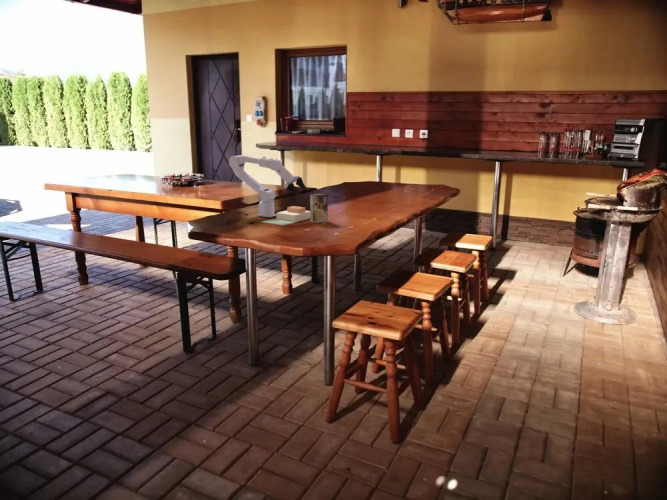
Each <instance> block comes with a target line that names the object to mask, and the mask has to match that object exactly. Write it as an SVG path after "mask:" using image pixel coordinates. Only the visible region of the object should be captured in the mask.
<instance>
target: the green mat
mask: <svg viewBox="0 0 667 500" xmlns="http://www.w3.org/2000/svg"><path fill="white" fill-rule="evenodd" d="M261 223H263V224H264V223H265V224H269V225H275V226H280V227H281V226H282V227H283V226H287V225H292V224H296V223H297V222H295V221H288V220H282V219H277V218H272V219H267V220H264V221H263V220H262V221H261Z"/></svg>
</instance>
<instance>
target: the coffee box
mask: <svg viewBox="0 0 667 500" xmlns="http://www.w3.org/2000/svg"><path fill="white" fill-rule="evenodd" d="M309 197H310V198H309V207H310V210H309V211H310V219H309V220H310V222H311V223H313V224H315V223H316V224H317V223H328V222H329V219H328V215H329V213H328V210H329V209H328V208H329V207H328V203H329V202H328V201H329V200H328V194H326V193H310V195H309Z"/></svg>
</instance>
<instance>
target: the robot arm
mask: <svg viewBox="0 0 667 500" xmlns="http://www.w3.org/2000/svg"><path fill="white" fill-rule="evenodd" d="M228 161H229V163H228V164H229V167H231V169H232V171H233V173H234V175H235V177H237V178H238V179H240V180H241V181H242V182H243V183H244V184H246V185H247V186H249V187H250V188H251V189H252V190H253V191H255V192H256V193H257V196H258V197H260V200H261V201H260V202H259V203H258V206H257V207H258V215H257V216H258V217H265V218H273V217H277V214H275V199H276V192H275V191H274V190H273V189H270V188H269V187H267V186H263V185H262V184H261V183H260V182H258V180H256V179H255V178H254V177H252V176H251V175H250V174H249V173H247V172H246V171H245V164H247V163H248V164H256V165H258V166H259V168H265V169H270V170H271V171H274V172H276V174H277V175H278V176H279V177H280V178H281V179H282V180H283V181H284V182H286V183H284V184H283V187H284V188H285V189H286V190H287V191H289V192H292V193H294V194H295V195H297V196H298V195H299V194H300V191H299V190H298V189H297V187H296V186H298V187H299V188H300V189H302V190H303V191H305V190H306V189H307V186H306V185H305V183H304V181H303V178H302V176H300V175H297V176H296V175H293V174H292V173H291V172H290V171H289V170H288V169H287V168H286V167H285V166H284V165H283V163H282V162H281V160H279V158H278V159H277V158H276V159H274V158H272V157H271V158H268V157H266V156H262V157H260V158H257V157H253V156H249V155H241V154H238V155H232V156H230V157H229V160H228ZM295 182H296V183H295ZM294 183H295V184H294ZM295 185H296V186H295Z"/></svg>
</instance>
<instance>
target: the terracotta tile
mask: <svg viewBox="0 0 667 500" xmlns="http://www.w3.org/2000/svg"><path fill="white" fill-rule="evenodd" d="M286 211H287V212H294V213H302V212H305V211H306V207H302V206H297V205H291V206H287V208H286Z"/></svg>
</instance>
